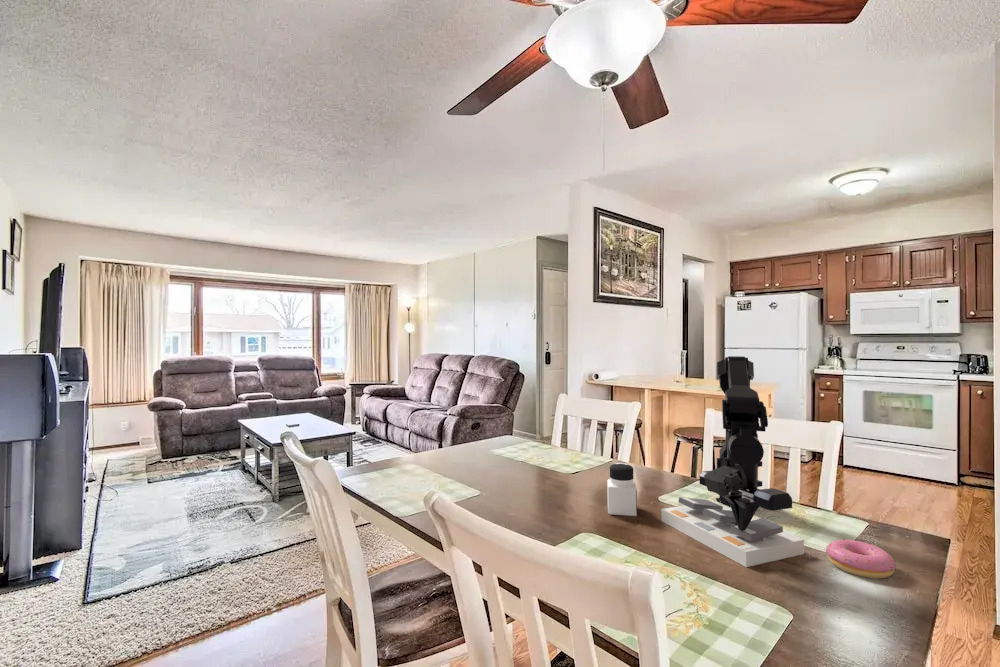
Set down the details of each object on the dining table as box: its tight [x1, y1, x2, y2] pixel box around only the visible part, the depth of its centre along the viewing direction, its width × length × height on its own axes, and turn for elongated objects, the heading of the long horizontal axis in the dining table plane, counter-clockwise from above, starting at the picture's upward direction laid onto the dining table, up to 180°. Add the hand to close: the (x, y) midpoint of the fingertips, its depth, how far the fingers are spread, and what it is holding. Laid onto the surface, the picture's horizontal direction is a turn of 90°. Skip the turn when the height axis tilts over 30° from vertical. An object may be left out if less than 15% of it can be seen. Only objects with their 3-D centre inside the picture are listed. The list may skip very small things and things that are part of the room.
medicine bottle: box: [606, 462, 638, 517], centre depth 123 cm, size 7×7×12 cm
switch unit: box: [660, 500, 805, 568], centre depth 107 cm, size 16×25×4 cm, turn 20°
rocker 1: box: [678, 496, 724, 510], centre depth 115 cm, size 9×5×1 cm, turn 110°
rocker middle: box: [703, 508, 736, 523], centre depth 107 cm, size 9×5×1 cm, turn 110°
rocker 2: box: [731, 517, 784, 541], centre depth 100 cm, size 9×5×1 cm, turn 110°
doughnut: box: [825, 538, 898, 579], centre depth 93 cm, size 11×11×4 cm
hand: (742, 529), depth 98 cm, fingers closed, pressing on rocker 2
